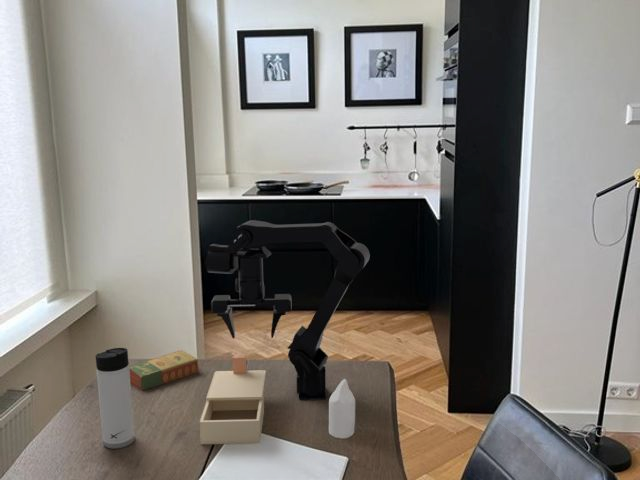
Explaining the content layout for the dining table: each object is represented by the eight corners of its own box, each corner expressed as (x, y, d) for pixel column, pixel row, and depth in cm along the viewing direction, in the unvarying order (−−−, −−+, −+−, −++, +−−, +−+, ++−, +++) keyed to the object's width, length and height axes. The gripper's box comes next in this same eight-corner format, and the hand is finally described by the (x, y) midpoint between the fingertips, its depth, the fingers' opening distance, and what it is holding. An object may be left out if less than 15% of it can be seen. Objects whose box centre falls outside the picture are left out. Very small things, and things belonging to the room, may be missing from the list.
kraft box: (264, 410, 142) (263, 390, 141) (259, 443, 128) (259, 420, 127) (210, 411, 142) (209, 391, 141) (200, 444, 128) (199, 422, 127)
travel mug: (118, 452, 125) (110, 358, 121) (96, 443, 129) (88, 352, 125) (142, 438, 131) (135, 348, 126) (120, 430, 134) (113, 342, 130)
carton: (199, 373, 163) (198, 358, 162) (141, 392, 153) (140, 376, 152) (182, 363, 170) (181, 349, 169) (126, 381, 159) (125, 365, 158)
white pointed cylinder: (326, 373, 133) (352, 371, 133) (327, 425, 135) (353, 423, 136) (330, 385, 127) (357, 383, 128) (330, 439, 129) (357, 438, 130)
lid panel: (265, 372, 150) (265, 354, 149) (262, 399, 136) (261, 379, 135) (215, 373, 149) (214, 355, 148) (206, 400, 136) (205, 380, 135)
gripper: (291, 265, 156) (292, 325, 159) (215, 266, 155) (218, 326, 159) (290, 277, 145) (291, 341, 148) (209, 278, 145) (212, 343, 148)
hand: (253, 337), depth 151 cm, fingers open, 9 cm apart
